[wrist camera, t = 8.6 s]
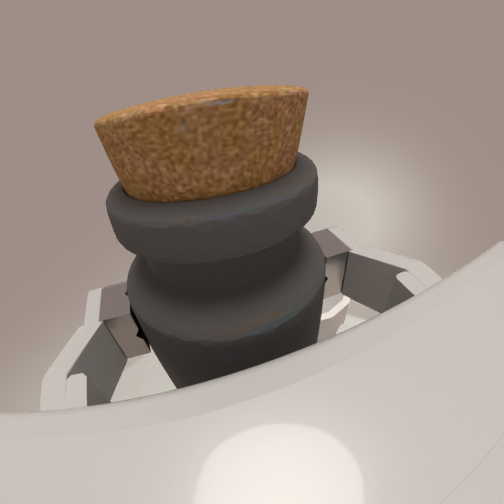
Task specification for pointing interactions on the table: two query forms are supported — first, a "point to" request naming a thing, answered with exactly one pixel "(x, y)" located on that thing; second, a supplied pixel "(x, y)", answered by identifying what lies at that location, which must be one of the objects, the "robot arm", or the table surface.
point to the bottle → (217, 227)
